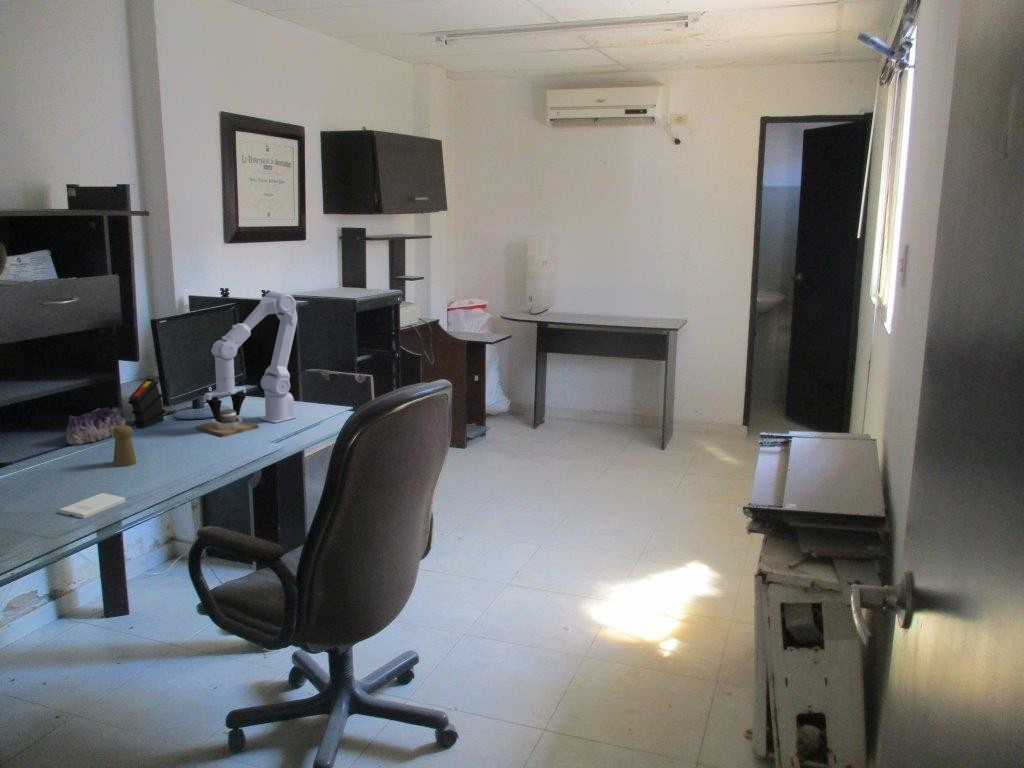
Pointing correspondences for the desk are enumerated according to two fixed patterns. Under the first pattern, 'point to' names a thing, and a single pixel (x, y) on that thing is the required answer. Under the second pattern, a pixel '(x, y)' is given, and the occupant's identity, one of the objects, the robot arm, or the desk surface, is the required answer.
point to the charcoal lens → (227, 416)
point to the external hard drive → (92, 505)
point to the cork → (123, 446)
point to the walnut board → (223, 433)
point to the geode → (93, 426)
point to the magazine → (147, 404)
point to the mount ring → (227, 424)
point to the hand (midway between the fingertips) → (226, 417)
